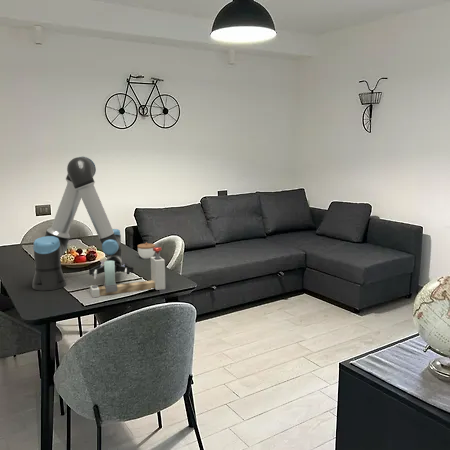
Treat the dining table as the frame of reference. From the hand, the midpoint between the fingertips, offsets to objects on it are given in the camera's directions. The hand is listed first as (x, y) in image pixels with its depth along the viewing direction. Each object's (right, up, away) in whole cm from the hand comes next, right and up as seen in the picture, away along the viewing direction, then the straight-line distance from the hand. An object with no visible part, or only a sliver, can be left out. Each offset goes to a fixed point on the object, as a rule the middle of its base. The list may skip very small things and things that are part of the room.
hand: (110, 275), depth 208 cm
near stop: (-7, -9, +1) cm, 11 cm away
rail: (+6, -8, +7) cm, 12 cm away
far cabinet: (+20, -7, +13) cm, 25 cm away
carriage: (-1, -7, +3) cm, 8 cm away
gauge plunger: (+20, +1, +12) cm, 23 cm away
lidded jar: (+4, +3, +72) cm, 72 cm away
